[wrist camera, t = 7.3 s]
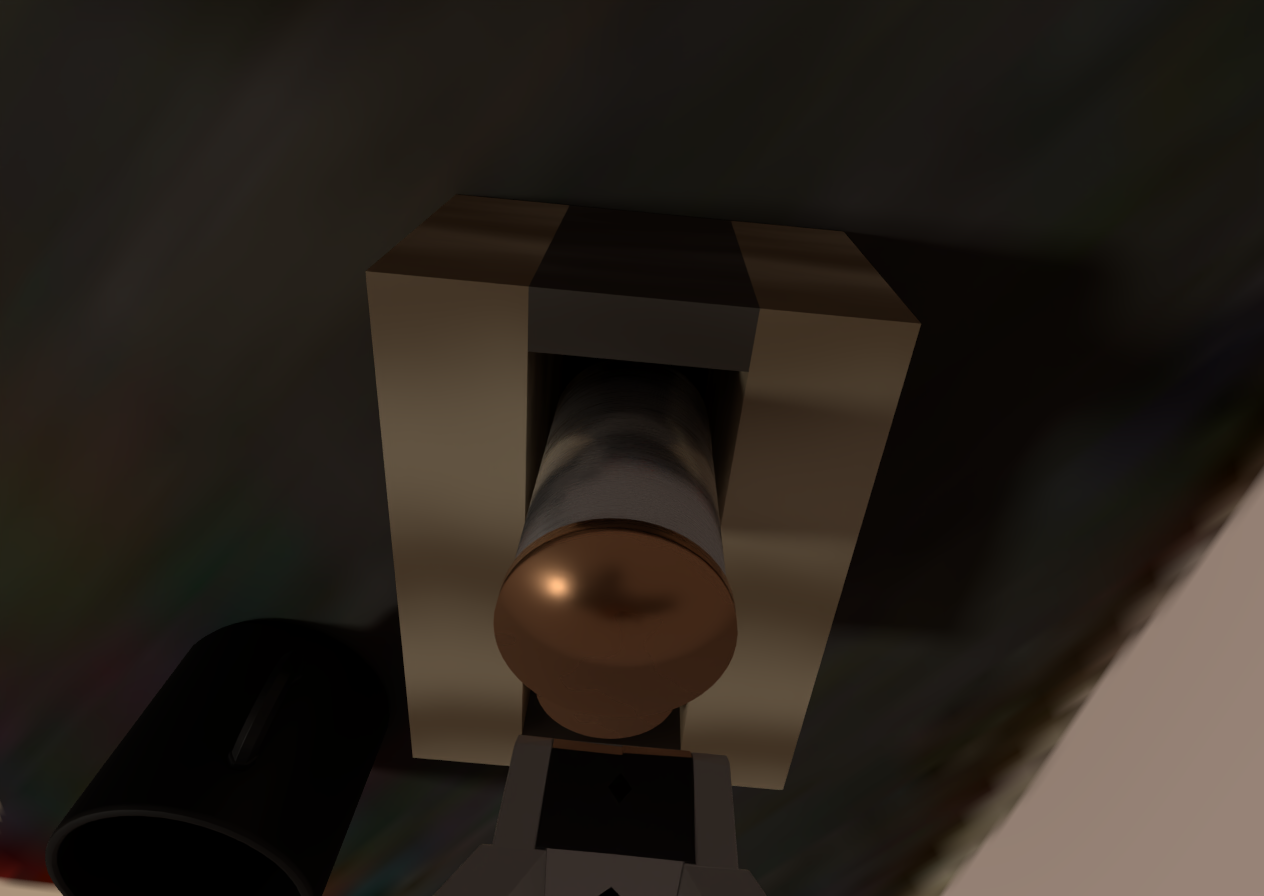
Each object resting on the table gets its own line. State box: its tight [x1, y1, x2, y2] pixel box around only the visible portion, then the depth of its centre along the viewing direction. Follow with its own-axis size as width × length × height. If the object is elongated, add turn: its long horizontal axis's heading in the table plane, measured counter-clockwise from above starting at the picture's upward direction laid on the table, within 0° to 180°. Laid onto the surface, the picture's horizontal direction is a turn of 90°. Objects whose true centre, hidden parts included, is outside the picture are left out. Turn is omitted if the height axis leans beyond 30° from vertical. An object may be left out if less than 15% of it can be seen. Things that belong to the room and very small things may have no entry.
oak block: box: [366, 194, 921, 790], centre depth 23 cm, size 16×12×8 cm
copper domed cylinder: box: [493, 359, 738, 718], centre depth 16 cm, size 4×4×8 cm
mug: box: [45, 621, 389, 896], centre depth 30 cm, size 9×12×9 cm
